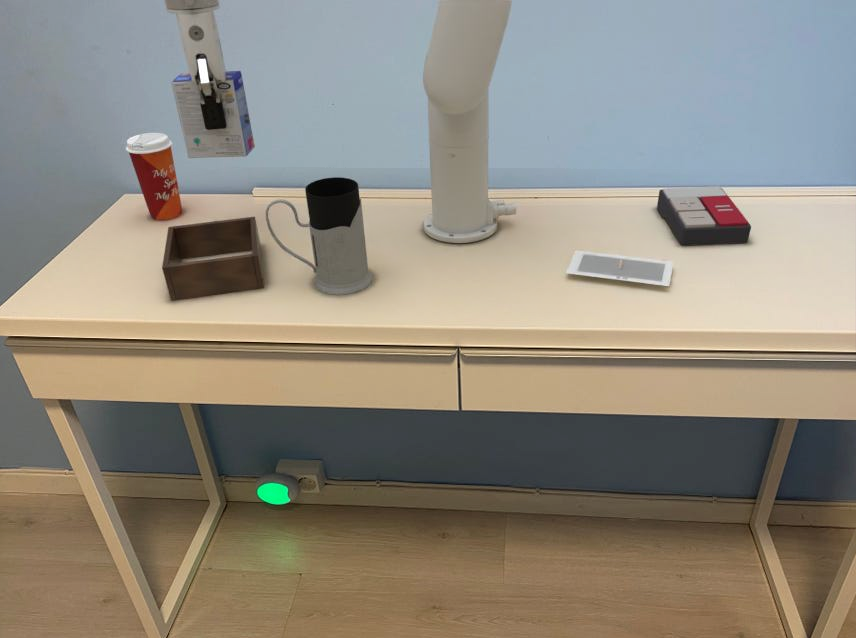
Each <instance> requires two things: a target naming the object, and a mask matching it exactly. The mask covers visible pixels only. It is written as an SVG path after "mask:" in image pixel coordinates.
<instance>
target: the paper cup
mask: <svg viewBox="0 0 856 638" xmlns="http://www.w3.org/2000/svg"><path fill="white" fill-rule="evenodd" d="M172 145H173V142H172V140H170V138H169V136H168V135H167V134H165V133H163V132H146V133H140V134H136V135H134V136H130V137H129V138H127V140H126V146H125V151H126V152H128V154H129V157H130V161H131V163H132V166H133V169H134V173H135V174H136V178H137V181H138V184H139V186H140V187H139V188H140V190H141V193H142V195H143V198H144V201H145V204H146V208H147V210H148V213H149V215H150V217H151V219H153V220H155V221H167V220H172V219H176V218H179V217H180V216H181V215H182V214H183V207H182V200H181V195H180V190H179V184H178V179H177V172H176V167H175V162H174V157H173V151H172Z"/></svg>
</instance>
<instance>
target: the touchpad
mask: <svg viewBox="0 0 856 638" xmlns="http://www.w3.org/2000/svg"><path fill="white" fill-rule="evenodd" d="M674 263H675V262H674V261H669V260H662V259H661V260H660V259H653V258H644V257H636V256H628V255H619V254H610V253H603V252H592V251H583V250H575V251H574V253H573V256H572V258H571V260H570V263H569V265H568V267H567V270H566V272H565V274H570V275H577V276H585V277H593V278H601V279H608V280H617V281H624V282H631V283H633V282H634V283H638V284H639V283H641V284H647V285H655V286H664V287H670V283H671V278H672V273H673V267H674Z"/></svg>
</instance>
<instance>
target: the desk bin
mask: <svg viewBox="0 0 856 638" xmlns="http://www.w3.org/2000/svg"><path fill="white" fill-rule="evenodd" d="M247 251H251V253H249V254H241V255H233V256H226V257H225V256H224V257H218V258H211V259H210V258H208V259H203V260H194V261H193V260H192V261H186V262H182V260H184V259H192V258H200V257H208V256H216V255H224V254H231V253H239V252H247ZM262 256H263V255H262V246H261V240H260V235H259V229H258V224H257V219H256V216H248V217H247V216H246V217H240V218H239V217H237V218H232V219H231V218H230V219H223V220H215V221H206V222H198V223H191V224H190V223H189V224H182V225H174V226H173V225H172V226H168V227H167V234H166V240H165V247H164V253H163V259H162V260H163V261H162V266H161V269H162V273H163V277H164V280H165V284H166V287H167V291H168V294H169V298H170V301H172V302H173V301H179V300H187V299H192V298H199V297H200V298H201V297H208V296H214V295H221V294H229V293H236V292H243V291H250V290H251V291H252V290H258V289H265V282H264V281H265V279H264V269H263V257H262Z"/></svg>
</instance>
